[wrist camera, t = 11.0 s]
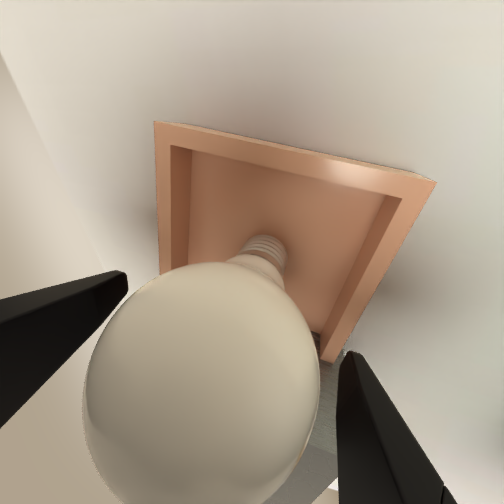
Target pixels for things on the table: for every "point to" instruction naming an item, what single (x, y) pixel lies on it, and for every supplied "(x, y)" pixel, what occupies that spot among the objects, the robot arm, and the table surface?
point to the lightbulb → (204, 384)
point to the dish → (285, 216)
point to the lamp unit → (316, 443)
